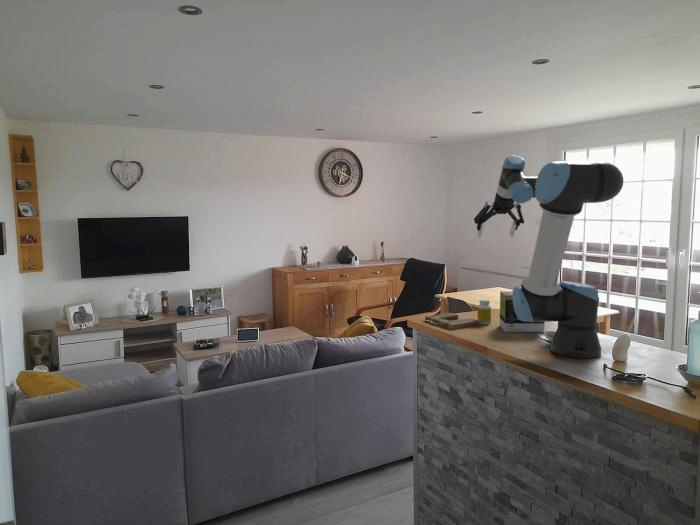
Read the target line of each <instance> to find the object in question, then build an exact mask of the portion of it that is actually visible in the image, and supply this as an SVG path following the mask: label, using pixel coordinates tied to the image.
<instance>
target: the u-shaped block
mask: <svg viewBox="0 0 700 525" xmlns="http://www.w3.org/2000/svg"><path fill="white" fill-rule="evenodd" d="M437 316H439V317H437ZM425 320H430V321H432V322H434V323H437V324H439V325H441V326H440V327H442V326H443V327H442V328H445V329H449V330H451V331H452V330H453V331H454V330H459V329H460V330H461V329H464V328H471V327H476V326H479V325H480V324H479V321H478V320H477V319H474V318H471V317H466V318H465V317H464V318H459V314H456V313H453V312H447V313H439V314H432V315H426V316H424V321H425ZM439 325H438V326H439Z"/></svg>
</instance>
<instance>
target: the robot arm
mask: <svg viewBox="0 0 700 525" xmlns="http://www.w3.org/2000/svg"><path fill="white" fill-rule="evenodd" d="M525 165H526V160H525V159H524V158H523V157H521V156H517V155H510V156H509V155H508V156H507V157H506V158H505V159H504V162H503V164H502V166H501V171H500V172H501V173H500V177H499V180H498V185H497V189H496V193H495V197H494V201H493V203H489V202H488V201H486V202H485V203H484V205H483V207H482V208H481V210H480V211H479V212H478V213H477V215H476V216H475V217H474V218H473V222H474V224H476V229H477V236H478V238H481V237H482V234H483V229H484V223H486V222H487V221H488V220H489V219H491V218H492V217H493V216H496V215H506V214H508V215H509V216H510V218H511V219H512V220H513V221H512V222H511V226H510V227H511V228H510V231H509V236H510V237H511V238H514V234H515V232H516V231H518V227H519V226H521V224H525V219H524V216H523V213H522V210H521V209H522V204H525V203H528V202H530V201H531V200H532V199H534V198H535V199H536V201H537V202H538V204H539V207H540V208H541V209H542V211H543V212H542V216H541V220H540V224H539V229H538V233H537V238H536V242H535V246H534V252H533V255H532V259H531V263H530V269H529V273H528V275H526V276H524V278H522V281H521V284H520V285H516V286H514V287H513V289H512V291H513V294H512V298H513V306H514V310H515V313H516V315H517V317H518V319H519V320H521V321H527V322H544V323H546V322H553V323H554V322H557V328H556V331H555V334H554V335H553V337H552V341H551V346H550V347H551V348H550V349H551V351H552V352H553V353H554V354H557V355H560V356H563V357H568V358H574V359H586V360H587V359H588V360H589V359H596V358H600V357H601V355H602V347H601V343H600V339H599V336H598V332H597V328H598V327H597V324H598V312H599V311H598V310H599V291H598V288H597V287H595V286H593V285H591V284H586V283H581V282H575V281H567V280H562V281H560V282H558V279H559V275H560V271H561V267H562V264H563V259H564V256H565V252H566V249H567V245H568V241H569V237H570V234H571V230H572V226H573V223H574V219H575V216H577V215H580V214H581V213H582V211H583V207H584V204H592V203H593V204H594V203H595V204H597V203H603V202H607V201H610V200H612V199H614V198H615V197H617V196H618V195H619V194H620V192H621V191H622V190H623V186H624V176H623V173H622V171H621V170H620V169H619V167H617V166H616V165H614V164H612V163H610V162H608V161H607V162H606V161H584V160H583V161H582V160H581V161H580V160H579V161H575V160H574V161H568V160H567V161H566V160H561V161H550V162H548V163H545V165H544V166H543V167H542V168H541V169H540V171H539V173H538V174H537V176H527V175H526V174H525V172H524V170H525ZM512 209H515V210H516V212H517V214H518V217H517V216H516V214H514V212H513V211H512Z"/></svg>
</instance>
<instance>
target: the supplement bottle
mask: <svg viewBox="0 0 700 525" xmlns="http://www.w3.org/2000/svg"><path fill="white" fill-rule="evenodd" d="M490 300H491V299H486V298H485V299H484V298H482V299H481V298H480V299H479V304H478V305H477V319H476V320H478V321H479V325H490V324H491V322H492V306H491V305H490V303H491V301H490Z"/></svg>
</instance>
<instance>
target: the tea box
mask: <svg viewBox="0 0 700 525" xmlns="http://www.w3.org/2000/svg"><path fill="white" fill-rule="evenodd" d="M512 294H513V290H510V291H509V290H508V291H507V290H506V291H505V290H502V291H501V290H500V293H499V326H500V328H501V329H502V330H503V331H504V332H506V333H508V332H509V333H545V322H527V321H521V320H519V319H518V317H517V315H516V313H515V310H514V306H513V298H512Z"/></svg>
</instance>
